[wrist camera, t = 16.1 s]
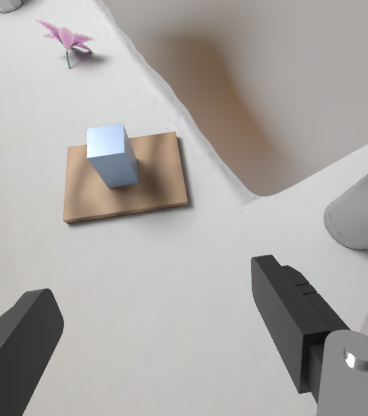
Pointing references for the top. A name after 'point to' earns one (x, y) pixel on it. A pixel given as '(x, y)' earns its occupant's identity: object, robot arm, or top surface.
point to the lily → (66, 37)
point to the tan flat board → (129, 194)
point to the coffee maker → (9, 5)
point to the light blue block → (112, 155)
